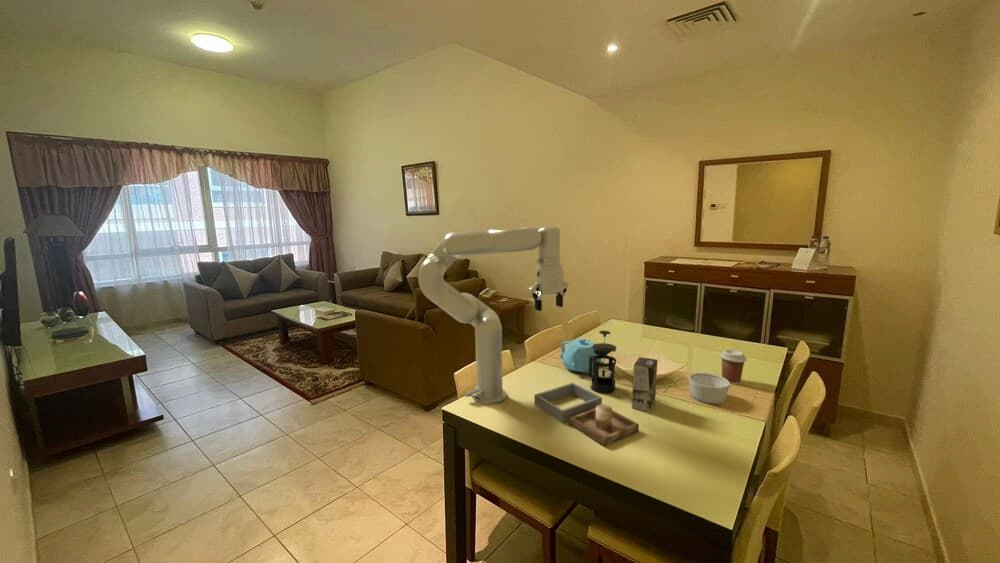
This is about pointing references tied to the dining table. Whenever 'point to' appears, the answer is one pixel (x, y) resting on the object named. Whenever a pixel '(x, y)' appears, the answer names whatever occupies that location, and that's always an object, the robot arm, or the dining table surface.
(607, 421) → the maple spool
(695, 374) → the ramekin
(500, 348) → the robot arm
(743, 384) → the dining table surface
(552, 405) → the gray square frame
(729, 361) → the coffee cup
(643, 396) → the coffee box
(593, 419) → the walnut tray
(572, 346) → the decorative pot
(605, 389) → the french press
